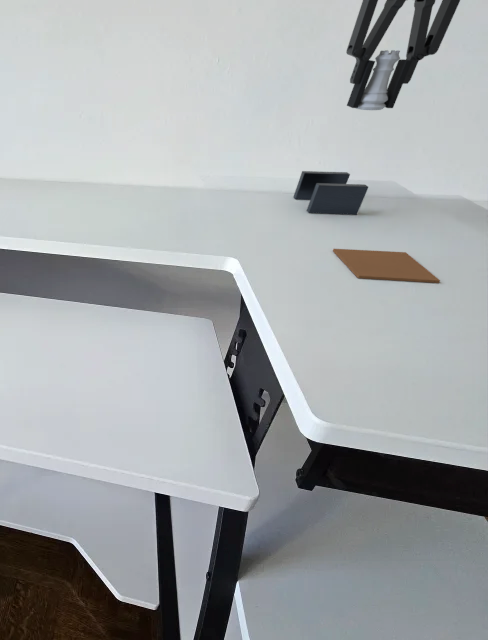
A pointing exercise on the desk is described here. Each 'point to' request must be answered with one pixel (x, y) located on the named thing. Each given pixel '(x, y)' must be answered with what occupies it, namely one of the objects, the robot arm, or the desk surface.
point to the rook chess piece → (379, 82)
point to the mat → (384, 265)
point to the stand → (330, 192)
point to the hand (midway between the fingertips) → (369, 106)
